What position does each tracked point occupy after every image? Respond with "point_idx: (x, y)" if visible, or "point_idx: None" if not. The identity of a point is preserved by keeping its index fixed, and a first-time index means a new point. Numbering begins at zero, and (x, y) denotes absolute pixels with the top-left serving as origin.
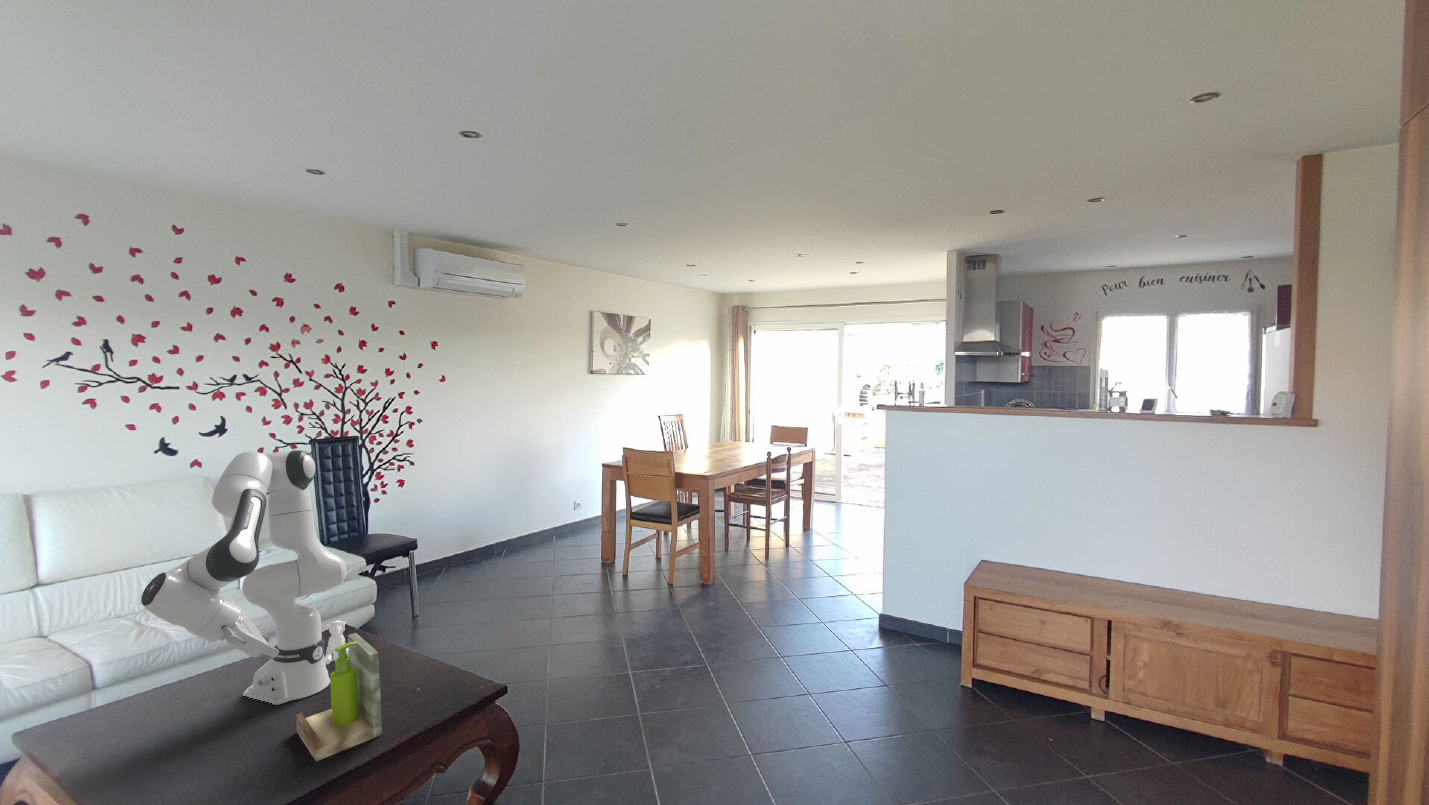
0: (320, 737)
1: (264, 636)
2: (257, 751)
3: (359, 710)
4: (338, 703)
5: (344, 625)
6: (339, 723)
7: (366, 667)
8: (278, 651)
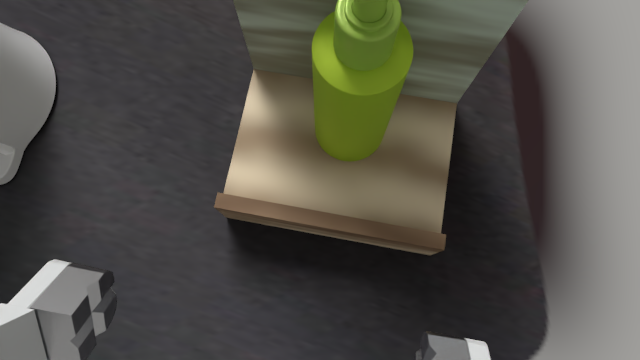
0: (382, 213)
1: (72, 316)
2: (227, 326)
3: None
4: (380, 128)
5: None
6: (371, 151)
7: None
8: (485, 348)
